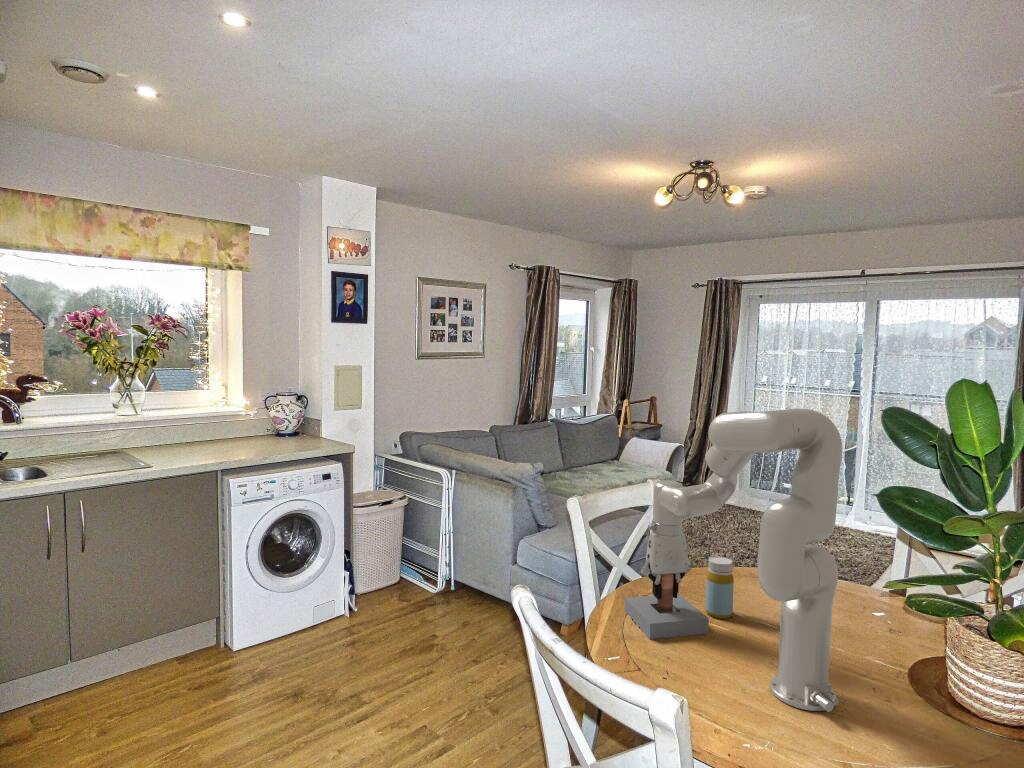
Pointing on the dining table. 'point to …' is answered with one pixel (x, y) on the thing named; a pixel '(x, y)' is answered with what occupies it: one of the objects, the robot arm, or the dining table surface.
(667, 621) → the socket block
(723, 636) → the dining table surface
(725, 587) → the bottle
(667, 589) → the peg
